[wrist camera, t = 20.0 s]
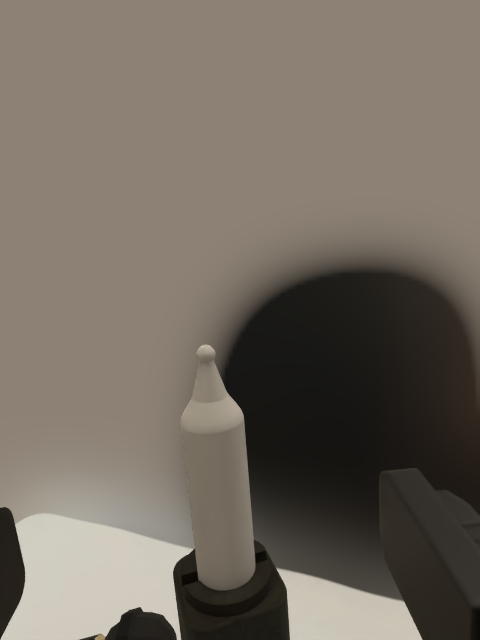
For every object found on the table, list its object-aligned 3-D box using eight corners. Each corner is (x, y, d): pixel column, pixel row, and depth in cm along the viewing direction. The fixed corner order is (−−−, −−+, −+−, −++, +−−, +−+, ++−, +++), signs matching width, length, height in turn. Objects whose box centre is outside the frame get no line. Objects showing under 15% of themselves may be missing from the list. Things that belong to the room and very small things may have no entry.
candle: (192, 739, 27) (141, 340, 22) (271, 708, 29) (241, 325, 23) (213, 847, 23) (154, 371, 17) (306, 802, 24) (280, 350, 19)
